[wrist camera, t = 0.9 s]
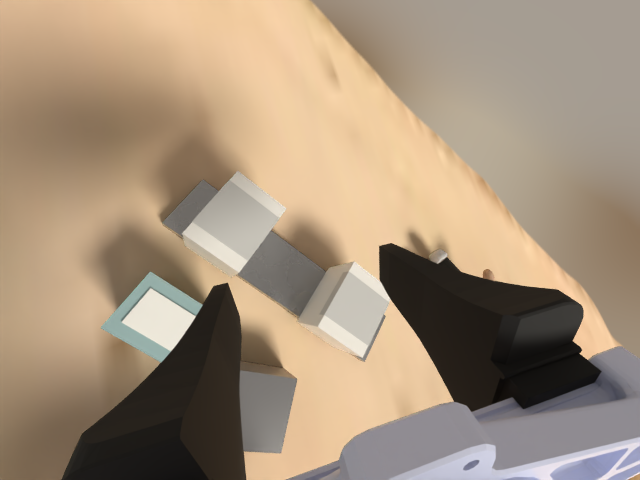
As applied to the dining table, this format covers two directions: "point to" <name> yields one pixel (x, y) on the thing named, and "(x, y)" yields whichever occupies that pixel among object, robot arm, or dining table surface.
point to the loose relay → (265, 406)
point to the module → (153, 317)
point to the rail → (263, 260)
